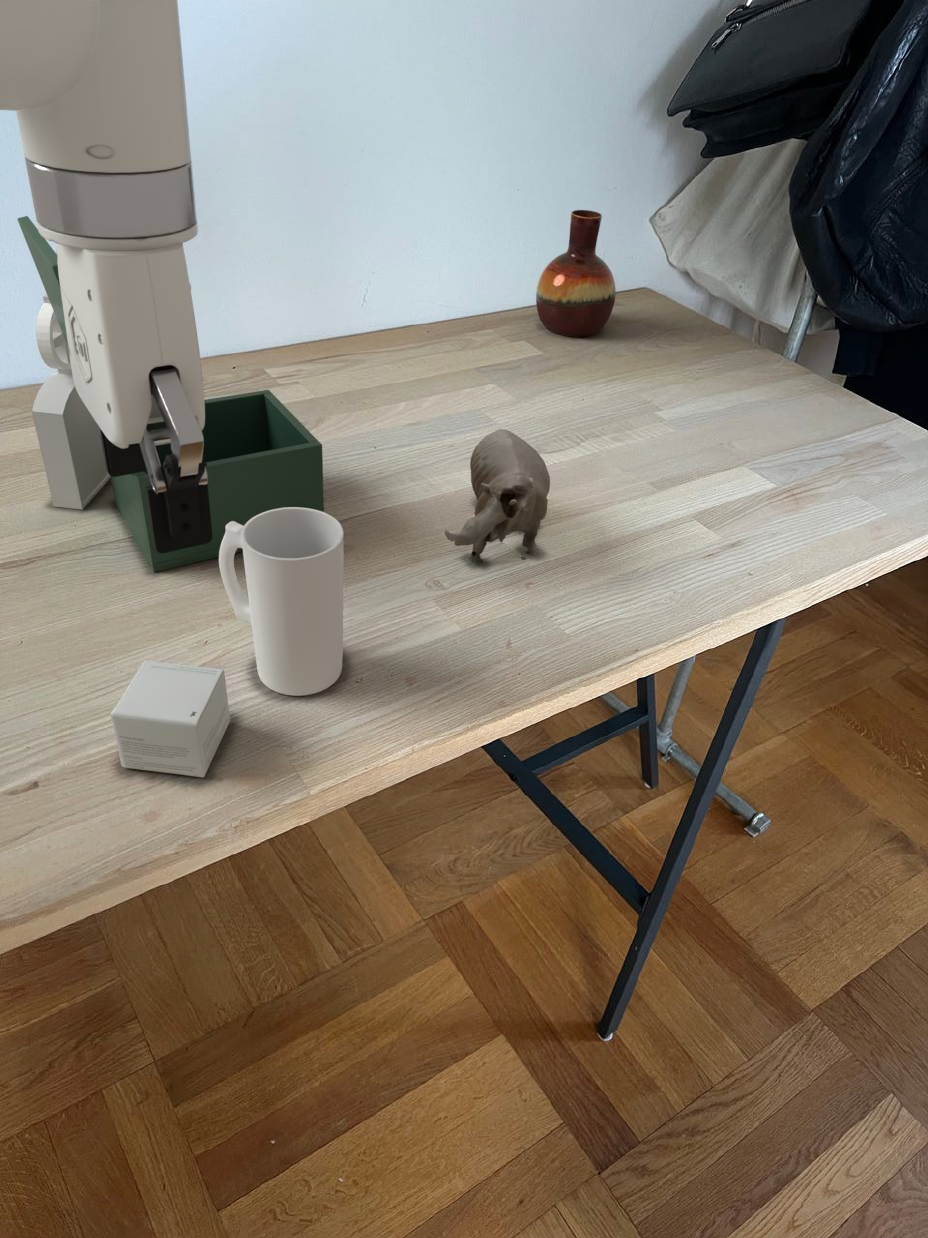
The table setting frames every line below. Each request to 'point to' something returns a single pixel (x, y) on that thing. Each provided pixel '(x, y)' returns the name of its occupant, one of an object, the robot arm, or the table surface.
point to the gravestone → (65, 424)
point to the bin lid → (46, 270)
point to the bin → (235, 472)
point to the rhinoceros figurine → (505, 493)
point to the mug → (290, 595)
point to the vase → (577, 283)
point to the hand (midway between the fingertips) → (157, 506)
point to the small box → (171, 718)
